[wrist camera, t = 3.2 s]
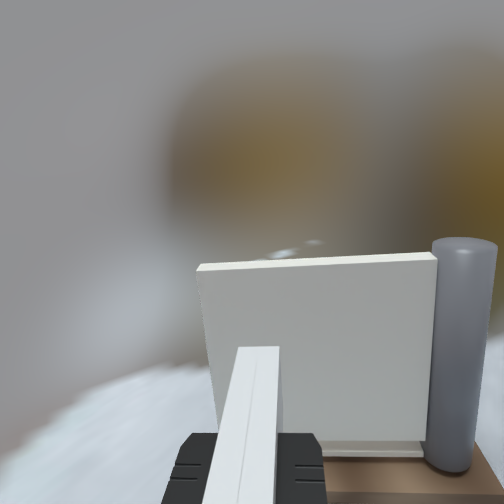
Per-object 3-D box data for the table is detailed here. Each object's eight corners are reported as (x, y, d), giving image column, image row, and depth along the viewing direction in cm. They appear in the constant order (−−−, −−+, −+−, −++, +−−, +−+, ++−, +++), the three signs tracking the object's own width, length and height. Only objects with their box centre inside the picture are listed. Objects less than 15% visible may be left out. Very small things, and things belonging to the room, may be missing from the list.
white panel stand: (459, 434, 25) (480, 235, 21) (481, 472, 22) (510, 252, 18) (227, 433, 27) (202, 251, 23) (220, 469, 24) (190, 268, 20)
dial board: (426, 370, 34) (427, 359, 34) (505, 507, 22) (507, 492, 21) (258, 373, 36) (257, 363, 35) (243, 501, 24) (241, 487, 23)
